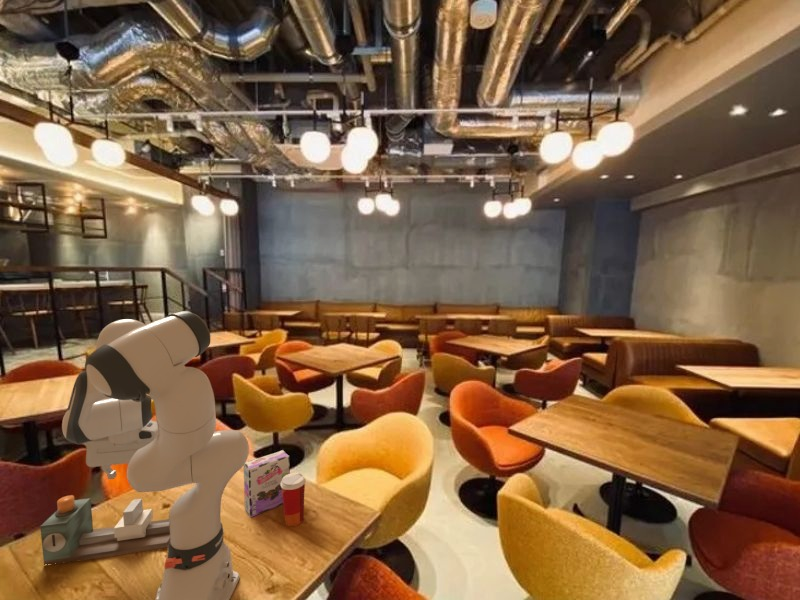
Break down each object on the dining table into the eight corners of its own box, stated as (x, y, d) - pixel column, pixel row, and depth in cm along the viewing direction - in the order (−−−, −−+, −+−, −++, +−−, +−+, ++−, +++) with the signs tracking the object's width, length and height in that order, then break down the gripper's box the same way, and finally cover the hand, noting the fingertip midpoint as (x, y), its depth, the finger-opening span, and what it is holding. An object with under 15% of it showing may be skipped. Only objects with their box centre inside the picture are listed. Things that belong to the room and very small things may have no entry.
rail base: (166, 548, 106) (164, 509, 105) (42, 567, 100) (38, 526, 99) (181, 521, 118) (178, 486, 117) (70, 537, 111) (66, 499, 110)
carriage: (142, 539, 107) (140, 511, 106) (115, 544, 106) (112, 514, 105) (153, 523, 114) (151, 496, 113) (127, 527, 112) (125, 499, 112)
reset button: (69, 512, 104) (69, 502, 104) (54, 514, 103) (53, 504, 103) (77, 504, 107) (77, 494, 107) (63, 506, 107) (62, 496, 106)
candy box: (250, 518, 119) (248, 469, 118) (244, 509, 124) (242, 462, 122) (291, 501, 128) (289, 455, 126) (284, 493, 132) (283, 448, 131)
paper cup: (297, 509, 123) (296, 469, 122) (311, 519, 119) (310, 477, 117) (276, 521, 117) (274, 479, 116) (290, 532, 113) (289, 488, 111)
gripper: (78, 439, 102) (82, 486, 103) (161, 432, 106) (164, 477, 108) (91, 429, 108) (95, 474, 109) (170, 422, 112) (172, 466, 114)
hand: (130, 475), depth 108 cm, fingers open, 8 cm apart
